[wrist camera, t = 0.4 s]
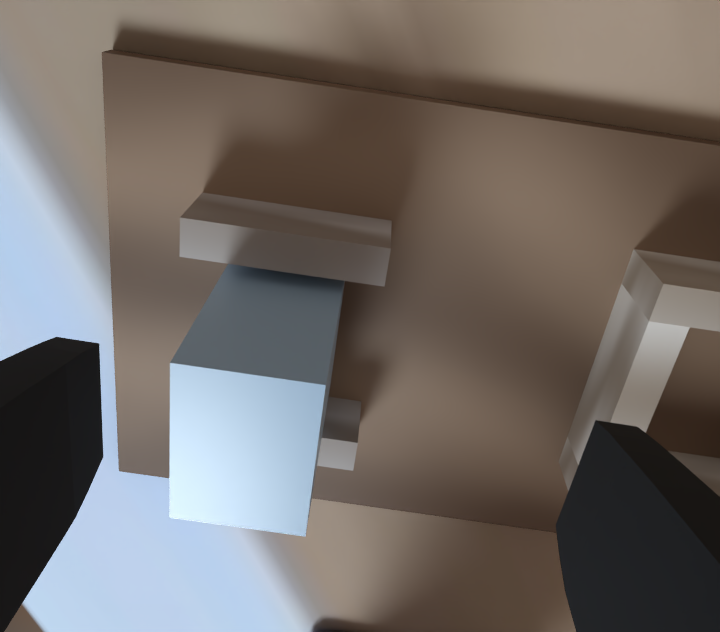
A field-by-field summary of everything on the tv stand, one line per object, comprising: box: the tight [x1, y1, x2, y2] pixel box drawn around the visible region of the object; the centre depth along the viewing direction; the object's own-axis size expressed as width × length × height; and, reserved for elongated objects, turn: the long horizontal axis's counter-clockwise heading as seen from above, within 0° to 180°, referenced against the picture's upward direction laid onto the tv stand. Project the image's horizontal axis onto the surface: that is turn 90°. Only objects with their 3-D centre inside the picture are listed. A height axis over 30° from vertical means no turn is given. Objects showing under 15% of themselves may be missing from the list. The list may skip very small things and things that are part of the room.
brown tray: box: [102, 50, 720, 533], centre depth 18 cm, size 13×22×3 cm, turn 82°
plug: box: [169, 264, 345, 536], centre depth 16 cm, size 4×3×6 cm
